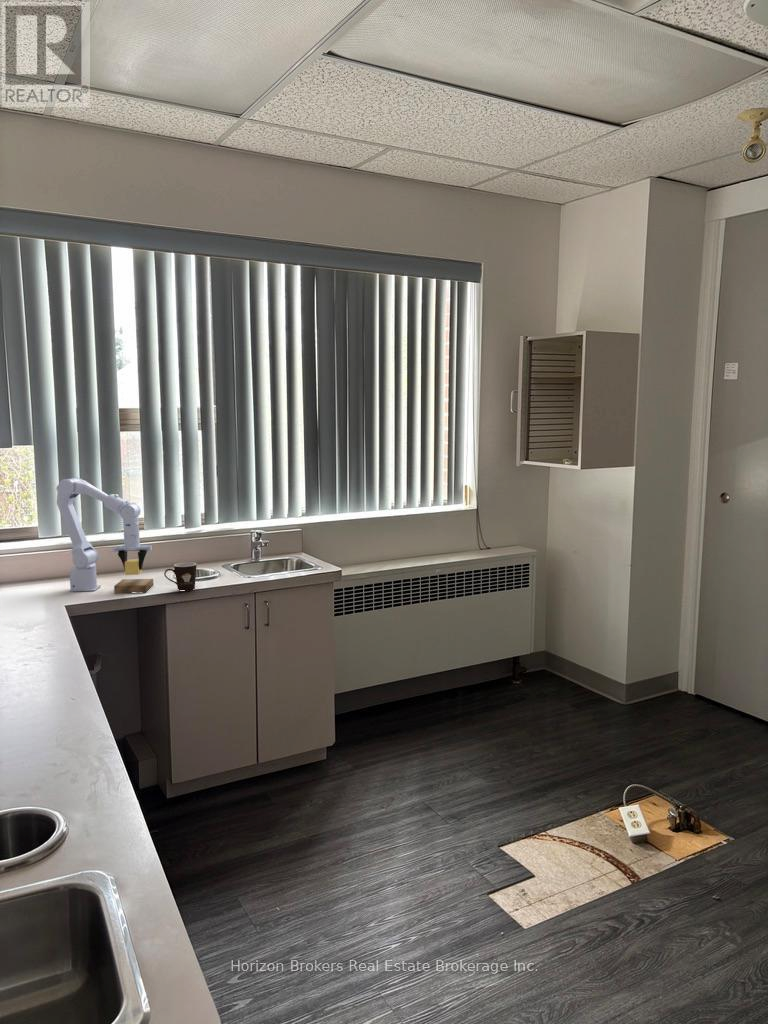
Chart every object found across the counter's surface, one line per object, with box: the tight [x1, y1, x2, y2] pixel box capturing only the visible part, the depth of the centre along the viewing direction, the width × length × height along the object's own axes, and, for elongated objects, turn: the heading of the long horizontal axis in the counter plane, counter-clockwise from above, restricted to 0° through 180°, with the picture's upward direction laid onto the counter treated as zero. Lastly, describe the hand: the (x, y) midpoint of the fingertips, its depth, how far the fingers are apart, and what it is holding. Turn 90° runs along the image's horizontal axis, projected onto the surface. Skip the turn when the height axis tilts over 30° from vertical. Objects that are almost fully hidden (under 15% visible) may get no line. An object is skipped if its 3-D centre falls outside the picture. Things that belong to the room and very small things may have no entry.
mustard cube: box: [124, 558, 143, 576], centre depth 301 cm, size 5×5×5 cm
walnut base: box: [113, 578, 154, 594], centre depth 302 cm, size 12×12×3 cm
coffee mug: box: [163, 562, 198, 592], centre depth 301 cm, size 12×9×10 cm
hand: (133, 569), depth 302 cm, fingers closed on mustard cube, 5 cm apart
